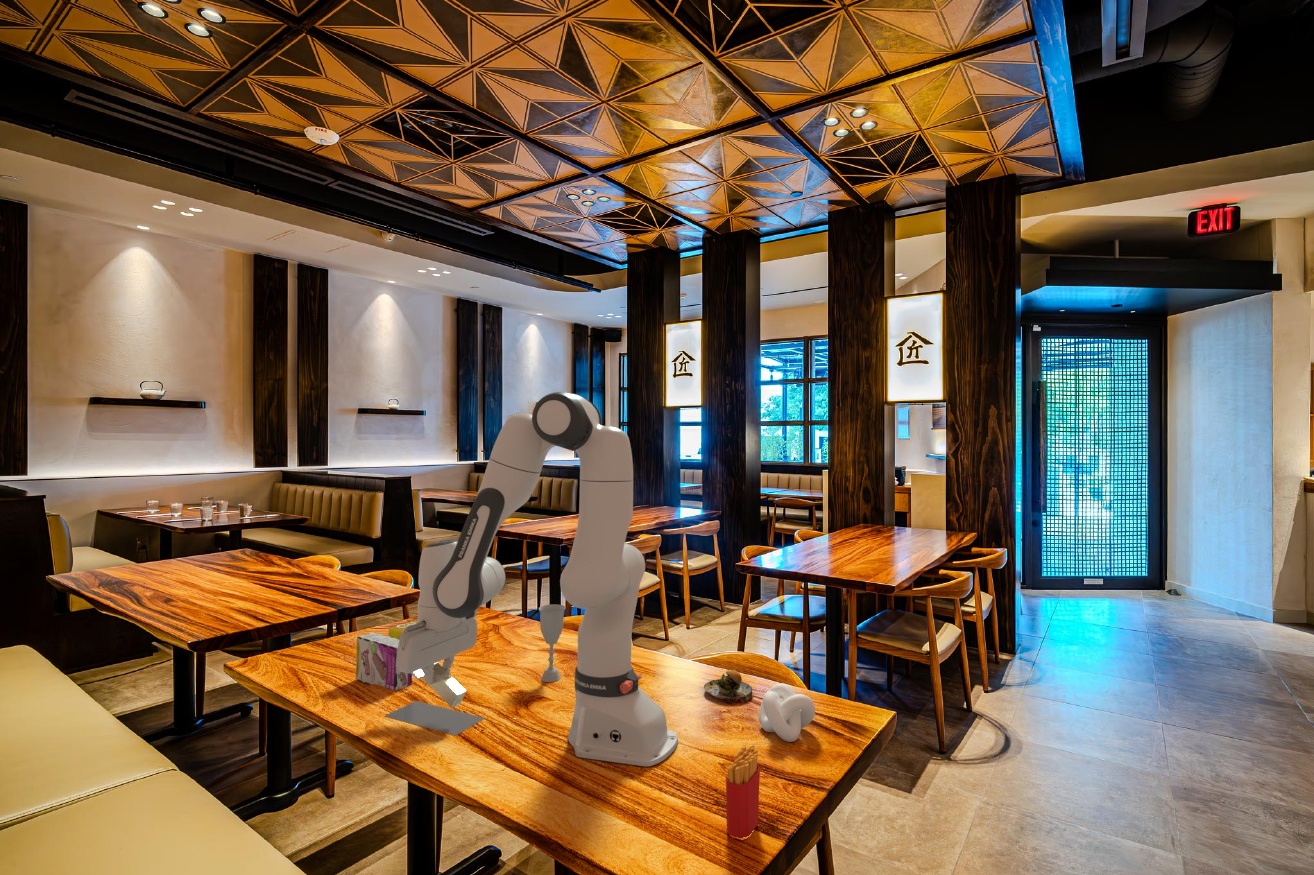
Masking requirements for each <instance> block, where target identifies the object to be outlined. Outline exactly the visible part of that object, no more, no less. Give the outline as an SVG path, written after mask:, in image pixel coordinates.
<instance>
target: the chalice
mask: <svg viewBox="0 0 1314 875" xmlns="http://www.w3.org/2000/svg"><path fill="white" fill-rule="evenodd" d="M565 610H566V606H565V605H562V604H555V603H554V604H552V603H551V604H545V605H541V606H540V607H538V611H539V613H540V616H539V617H540V620H539V621H540V626H539V627H540V628H539V629H540V631H541V635H542V637H543V639H544V642H545V644H547V645H549V650H548V651H547V652H548V654H549V657H548V659H547V660H548V663H549V665H548V667H546V668H545V669H544V671H543V673H542V676H541V678H540V680H541V681H542V682H545V683H546V682H547V683H553V682H558V681H560V680H561V678H562V677H561V675H560V672H559V670H558V668H556V667H555V666H554V661H555V658H554V653H555V650H554V645H556V644H557V643H558V641H559V639H560V637H561V634H562V632H563V628H564V612H565Z"/></svg>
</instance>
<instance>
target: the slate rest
mask: <svg viewBox="0 0 1314 875" xmlns="http://www.w3.org/2000/svg"><path fill="white" fill-rule="evenodd" d="M384 717H386V718H389V719H393V720H396V721H400V722H404V723H408V724H411V725H415V726H419V727H422V728H426V729H430V730H433V731H437V732H441V733H445V734H447V735H452V736H455V737H457V735H459V734H461V733H464V732H465V731H466V730H468V729H470V728H471V727H473V726H475V725H476V724H478V723H480V722H482V721H483V720H484V719H486V717H483V716H479V715H475V714H471V713H468V712H467V713H466V712H464V711H458V710H454V709H452V708H446V707H442V706H438V705H435V704H431V703H426V702H422V701H419V700H414V701H413V702H411V703H409V704H406V705H405V706H402V707H400V708H398V709H396V710H394V711H392V712H390V713H387V714H386V715H384Z"/></svg>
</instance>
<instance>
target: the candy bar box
mask: <svg viewBox="0 0 1314 875" xmlns="http://www.w3.org/2000/svg"><path fill="white" fill-rule="evenodd" d="M398 644H399V639H396V638H392V637H389V635H385V634H382V633H378V632H375V631H374V632H369V633H366V634H365V633H364V634H362V635H358V636H357V637H356V659H355V660H356V662H355V663H356V664H355V665H356V666H355V680H356V681H359V682H361V683H364V684H366V685H370V686H371V685H374V684H375V685H378V686H381V687H383V688H386V689H389V690H392V691H395V692H396V691H398V690H401V689H404V688H406V687H410V686H412V685H413V675H412V674H411V673H404V672H400V671H399V670H398V669H397V668H396V657H397V650H398Z"/></svg>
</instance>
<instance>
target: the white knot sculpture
mask: <svg viewBox="0 0 1314 875" xmlns="http://www.w3.org/2000/svg"><path fill="white" fill-rule="evenodd" d="M815 715H816V705H815V703H814V701H813V700H812V699H811V697H809V696H807V695H805V694H803V693H796V691H795V689H794V688H793V687H791V686H790V685H788V684H787V683H777V684H774V685H772V687H770V689H769V690H768V691H767V692H765V693H764V695H763V697H762V701H761V703H760V708H759V710H758V721H759V725H760V728H762V729H763V730H764V731H765V732H767V733H776V735H778V737H779V738H781V739H782V740H783V741H785V742H787V743H792V742H796V741H797V739H798V738H799V736H800V735H801V730H802V729H803V728H806V727H807V726H808V725H810V723H811V722H812V721H813V720H814V718H815Z"/></svg>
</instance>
